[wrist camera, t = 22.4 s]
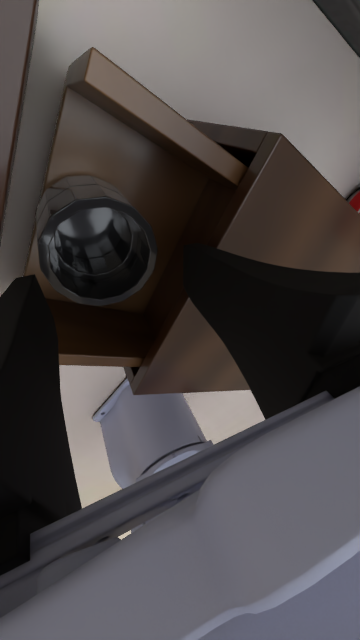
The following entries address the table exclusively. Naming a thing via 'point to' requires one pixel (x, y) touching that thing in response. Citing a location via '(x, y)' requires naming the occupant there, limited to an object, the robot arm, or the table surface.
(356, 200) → the beer can
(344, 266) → the cabinet
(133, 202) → the drawer
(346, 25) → the cassette player
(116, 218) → the cup
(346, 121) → the table surface
